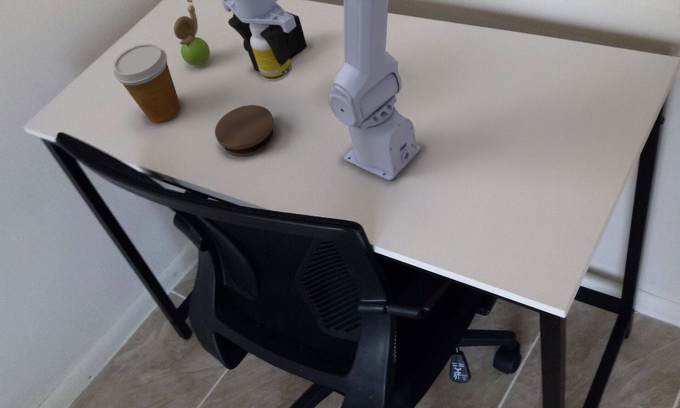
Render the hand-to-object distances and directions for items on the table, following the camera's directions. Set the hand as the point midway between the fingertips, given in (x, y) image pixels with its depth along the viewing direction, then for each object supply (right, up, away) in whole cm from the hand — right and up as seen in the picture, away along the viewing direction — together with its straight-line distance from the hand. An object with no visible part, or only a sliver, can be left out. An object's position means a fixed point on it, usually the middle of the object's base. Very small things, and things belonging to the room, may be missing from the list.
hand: (272, 56), depth 111 cm
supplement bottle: (+1, -2, +3) cm, 4 cm away
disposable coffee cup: (-21, -7, +13) cm, 26 cm away
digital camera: (0, +3, +17) cm, 18 cm away
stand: (-4, -13, +4) cm, 14 cm away
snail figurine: (-16, +4, +22) cm, 27 cm away
